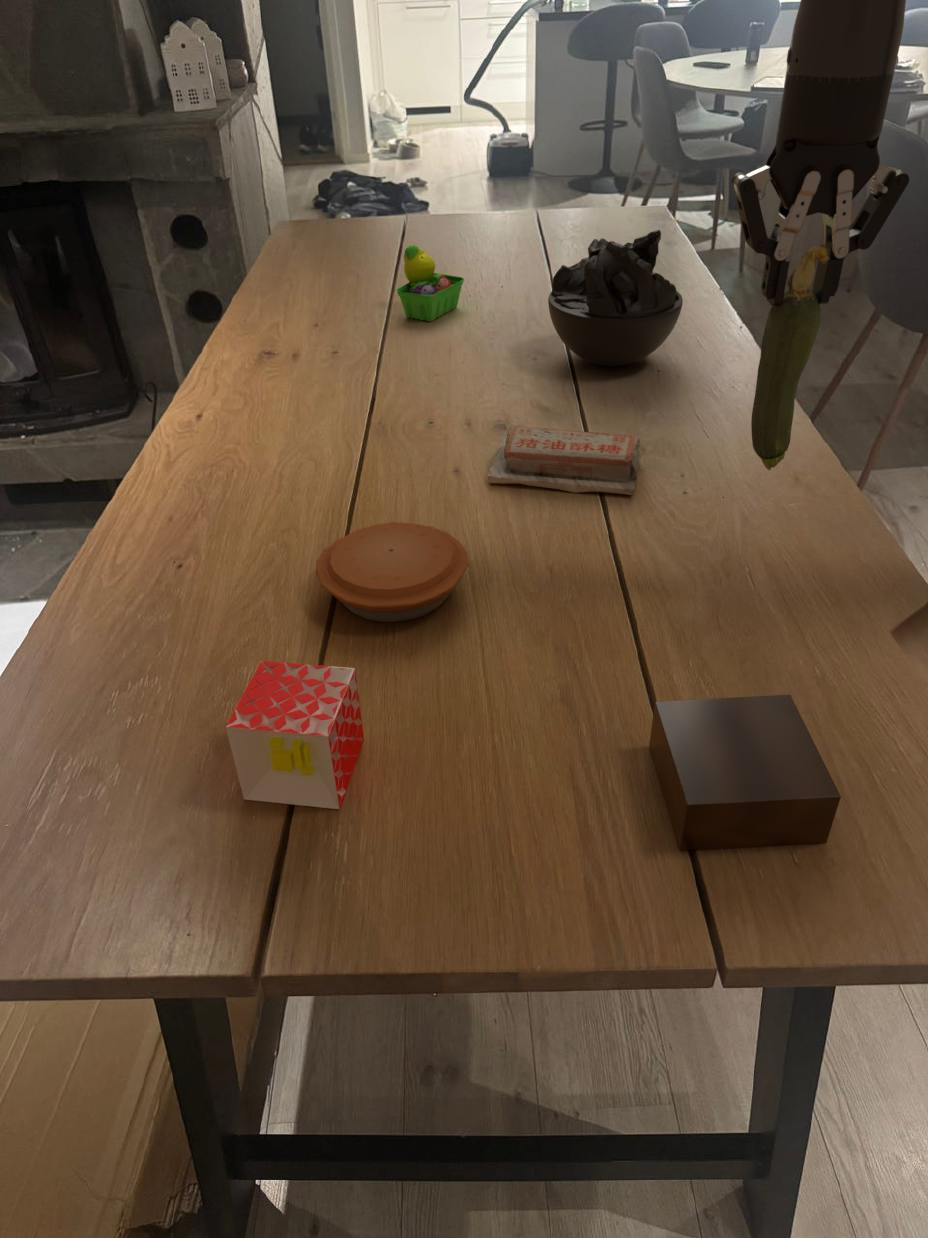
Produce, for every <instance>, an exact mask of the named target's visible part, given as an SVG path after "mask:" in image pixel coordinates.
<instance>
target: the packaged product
mask: <svg viewBox="0 0 928 1238" xmlns="http://www.w3.org/2000/svg"><path fill="white" fill-rule="evenodd" d="M640 439H641V438H640V437H638V436H636V435H635V436H634V435H627V434H616V433H614V434H613V433H606V432H595V431H582V430H581V431H580V430H570V429H569V430H567V429H558V428H557V429H556V428H545V427H544V428H541V427H531V426H520V425H518V426H511V427H509V429H508V430H507V434H506V437H505V438H503V439H502V441H501V444H500V446H499V448H498V451H497V453H496V456H495V458H494V460H493V463H492V465H491V467H490V469H489V471H488V475H487V481H488V484H503V485H504V484H510V485H523V486H524V485H525V486H530V487H539V488H547V489H554V490H561V491H565V492H570V493H575V494H576V493H585V492H586V493H587V492H588V493H589V492H595V493H608V494H619V495H626V496H627V495H628V496H633V495H634V493H635V489H636V485H637V482H638V481H637V480H638V475H639V467H640V464H641V459H642V454H641V452H640V451H639V450H640V446H641V445H640Z"/></svg>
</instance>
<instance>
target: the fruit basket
mask: <svg viewBox="0 0 928 1238" xmlns="http://www.w3.org/2000/svg"><path fill="white" fill-rule="evenodd" d="M433 259H434V258H432V257H431V256H430V255H429V254H428V253H426V252H425V251H424V250H423V249H422V248H421V247H419V246H418V245H415V244H411V245H408V246H407V247H406V248H405V249H404V254H403V260H404V265H403V267H404V268H403V270H404V275H405V277H406V280H407V281H408V282H407V283H406V284H404V285H402V286H400V287H399V288H397V289H396V292H397V295H398V297H399V298H400V301H401V305H402V307H403V310H404V313H405V316H406V318H407V317H408V318H407V319H413V318H415V319H414V320H417V319H420V320H419V321H423V320H426V322H428V321H429V322H433V321H435V320H436V319H438V318H440V317H441V315H442V316H443V315H444V313H445V314H447V313H449V312H451V311H452V310H454V309H456V308H457V307H458V304H459V299H460V295H461V291H462V287H463V284H464V281H465V278H464V277H462V276H456V275H450V274H445V273H437V272H435V269H436V262H435V261H434V260H433ZM455 307H456V308H455ZM451 309H452V310H451ZM409 317H410V318H409ZM437 317H438V318H437ZM434 319H435V320H434ZM429 322H428V323H429Z"/></svg>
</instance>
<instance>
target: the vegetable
mask: <svg viewBox="0 0 928 1238" xmlns="http://www.w3.org/2000/svg"><path fill="white" fill-rule="evenodd" d="M826 250H827V249H826V248H825V245H824V243H821V244H818V245H817V246H813V247H812V248H811V249H809V250H807V251H805V252H803V253H804V255H802V256H801V259H800V261H799V262H798V263H797V265H796V267H795V268H794V270H793V271H792V273H791V274H790V276H789V278H788V280H787V286H788V290H785V291H784V297H783V302H782V305H779V306H772V305H771V307H770V309H769V312H768V315H767V318H766V322H765V325H764V330H763V334H762V341H761V347H760V357H759V363H758V367H757V374H756V375H757V376H756V385H755V391H754V398H753V399H754V400H753V405H752V411H751V420H750V421H751V422H750V424H751V425H750V427H751V443H752V448H753V450H754V452H755V454H756V455H757V456H758V457H759V458H760V460H761V462H762V464H763V466H764V467H765V469H767V471H771V470H772V469H774V468H775V467H776V466H777V465H779V463H781V461H782V460H784V458H785V456H786V452H787V450H788V449H789V447H790V444H791V437H792V436H791V435H792V427H793V419H794V413H795V401H796V395H797V390H798V386H799V383H800V379H801V376H802V374H803V372H804V369H805V367H806V365H807V363H808V362H809V359H810V356H811V353H812V350H813V347H814V344H815V342H816V340H817V336H818V333H819V329H820V326H821V322H822V320H821V318H822V317H821V316H822V308H821V304H819V302H818V299H817V297H816V296H815V295H814V294H813V292H812V290H810V288H813V285H814V283H813V280H815V275H816V269H817V262H818V259H819V258H820V257H822V258H821V259H820V260H821V262H823V264H826V261H827V260H828V256H827V251H826ZM828 251H829V250H828Z"/></svg>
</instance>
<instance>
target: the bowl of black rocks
mask: <svg viewBox="0 0 928 1238" xmlns="http://www.w3.org/2000/svg"><path fill="white" fill-rule="evenodd" d="M661 239H662V232H661V229H656V230H653V231H650V232H649V233H647V234H646V235H644V236H641V237H637V238H635V239H633V242H626V243H624V245H623V244H621V243H618V242H615V241H614V240H610V241H609V240H607V239H605V238H604V237H603V238H602V237H601V238H600V239H599V238H598V239H596V238H593V240H592V241H591V243H590V244H589V246H588V247H587V254H588V257H584V258H581V259H580V261H579V262H576V263H575V264H573V265H571V266H566V265H564V264H563V265H561V266H560V267H559V269H558V270H557V271H556V273H555V274H554V275H553V278H552V286H551V287H552V288H551V292H550V293H549V295H548V298H547V302H548V310H549V316H550V320H551V322H552V326H553V328H554V330H555V332H556V334H557V335H558V337H559V338H560V340H561V341H562V342H563V344H564V345H565V346H566V347H567V348H568V349H569V350H570V351H571V352H572V353H574V355H576V356H578V357H580V358H581V359H583V360H585V361H587V362H590V363H592V364H596V365H600V366H607V367H616V366H624V365H628V364H632V363H636V362H638V361H640V360H643V359H644V358H646V357H648V356H649V355H650V354H652V353H654V352H655V351H656V350H657V349H659V348H660V346H661V345H663V344H664V342H666V340H667V339H668V338H669V336H670V335H671V333H672V332H673V330H674V328H675V327H676V324H677V323H678V320H679V318H680V315H681V311H682V309H683V296H682V295H681V293H680V292H679V291H678V290H677V288H676V285H675V284H673V283H671V282H670V280H668V279H666V278H665V277H664V276H663V275H662V274H661V273H657V272H654V269H655V267H656V265H657V264H656V263H657V257H658V255H659V243H660V241H661Z"/></svg>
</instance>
